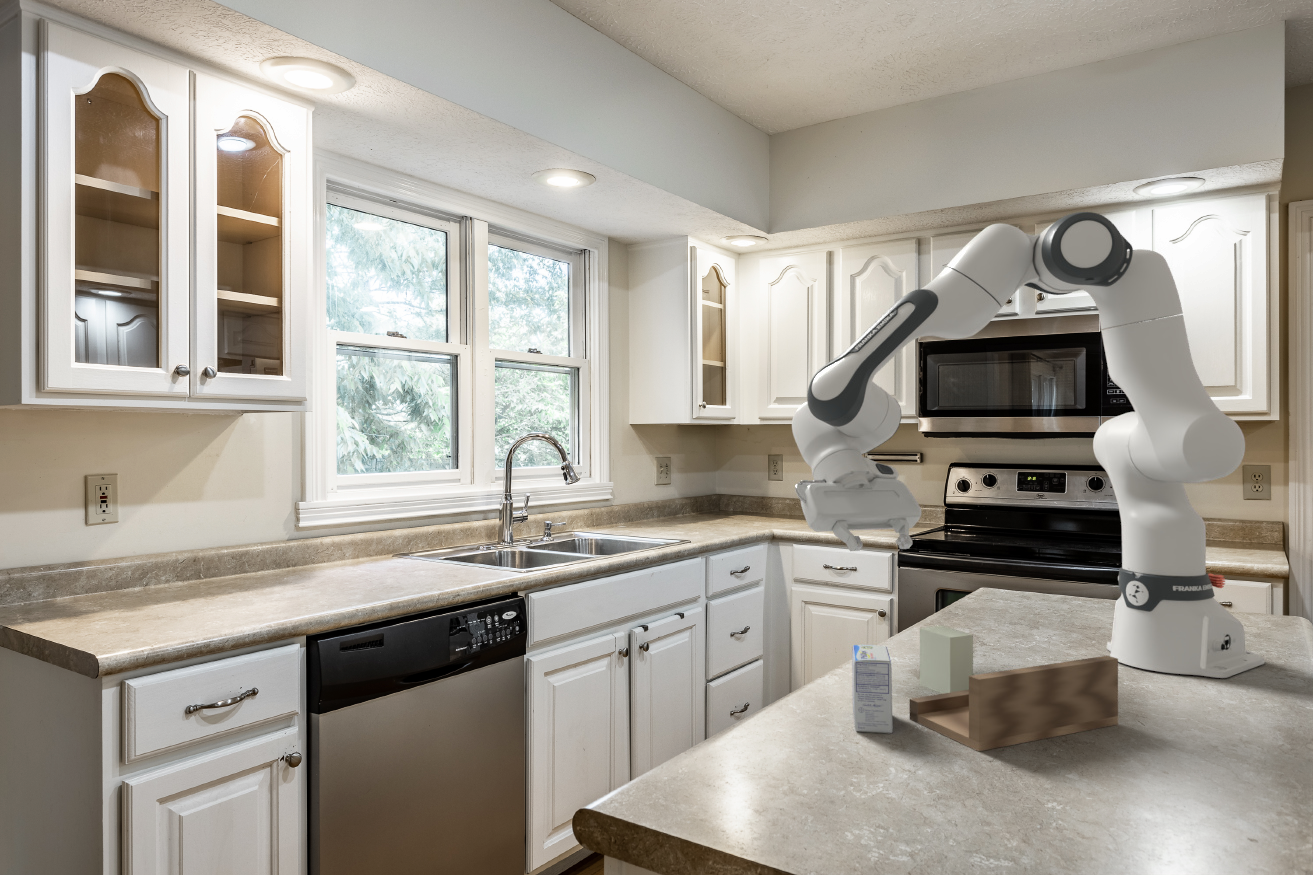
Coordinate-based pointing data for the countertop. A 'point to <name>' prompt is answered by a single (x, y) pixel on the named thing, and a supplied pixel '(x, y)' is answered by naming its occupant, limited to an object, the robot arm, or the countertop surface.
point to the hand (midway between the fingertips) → (882, 547)
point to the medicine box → (872, 689)
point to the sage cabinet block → (945, 659)
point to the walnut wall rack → (1025, 704)
